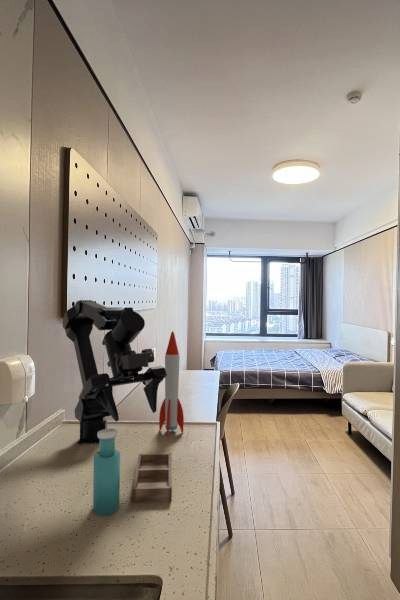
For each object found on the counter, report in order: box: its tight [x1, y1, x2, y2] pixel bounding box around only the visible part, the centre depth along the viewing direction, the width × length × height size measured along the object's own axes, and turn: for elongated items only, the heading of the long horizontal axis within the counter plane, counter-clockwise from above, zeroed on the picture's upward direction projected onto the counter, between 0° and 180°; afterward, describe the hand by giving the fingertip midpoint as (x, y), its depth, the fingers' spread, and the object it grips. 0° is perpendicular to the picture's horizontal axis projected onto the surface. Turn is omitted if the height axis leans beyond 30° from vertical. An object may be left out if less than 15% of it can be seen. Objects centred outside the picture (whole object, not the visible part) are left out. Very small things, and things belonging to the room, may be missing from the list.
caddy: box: [131, 452, 173, 504], centre depth 74 cm, size 8×15×3 cm, turn 5°
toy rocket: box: [158, 330, 185, 437], centre depth 101 cm, size 6×6×30 cm
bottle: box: [92, 428, 121, 516], centre depth 64 cm, size 5×5×14 cm
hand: (136, 416), depth 75 cm, fingers open, 9 cm apart
